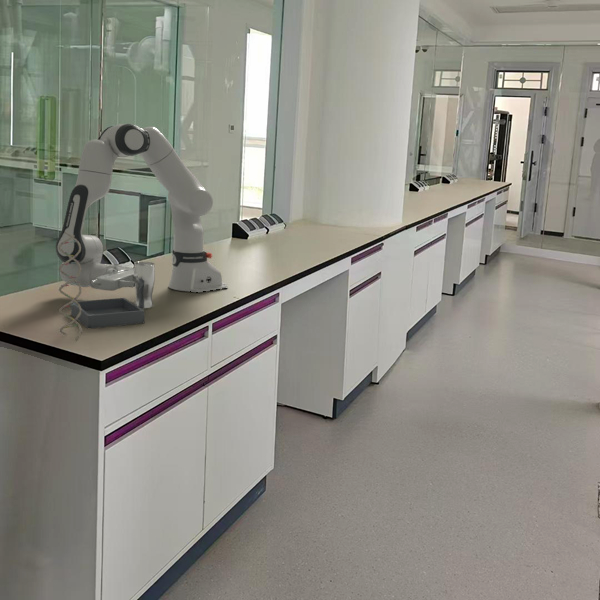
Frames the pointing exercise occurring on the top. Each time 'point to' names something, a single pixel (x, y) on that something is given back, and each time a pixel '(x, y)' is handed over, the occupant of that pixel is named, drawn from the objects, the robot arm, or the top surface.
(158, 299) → the top surface
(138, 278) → the beer glass
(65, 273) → the dna model
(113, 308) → the box
